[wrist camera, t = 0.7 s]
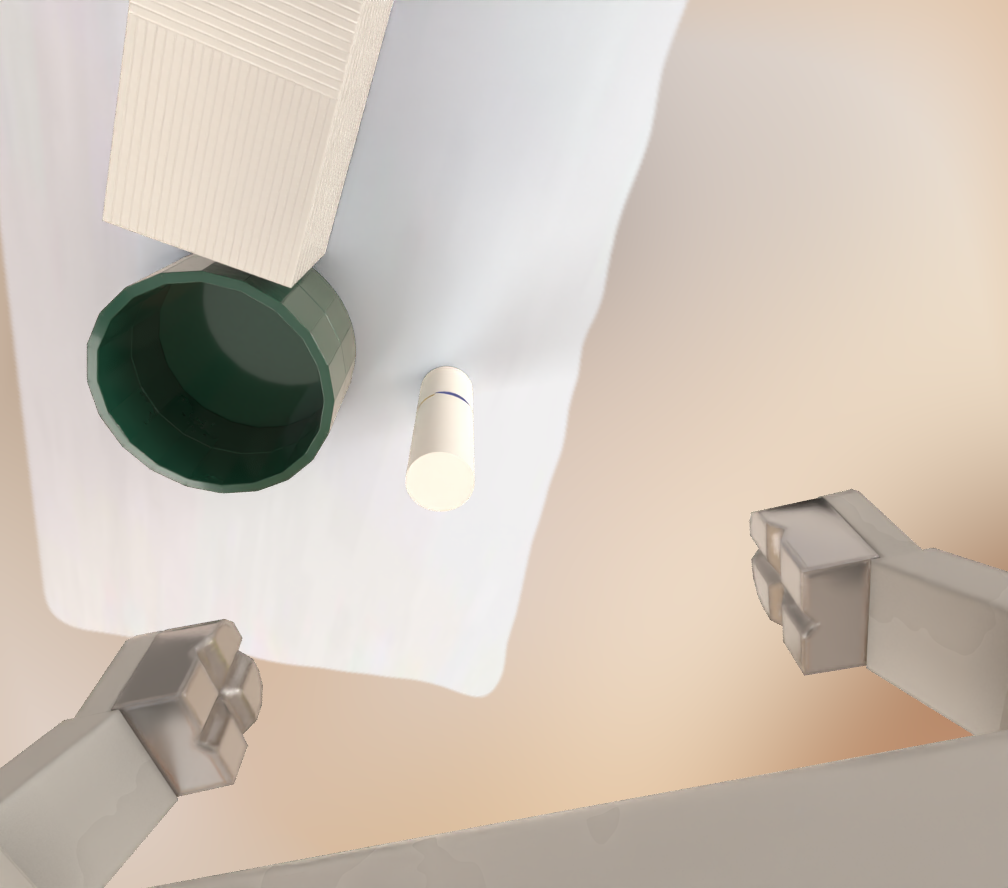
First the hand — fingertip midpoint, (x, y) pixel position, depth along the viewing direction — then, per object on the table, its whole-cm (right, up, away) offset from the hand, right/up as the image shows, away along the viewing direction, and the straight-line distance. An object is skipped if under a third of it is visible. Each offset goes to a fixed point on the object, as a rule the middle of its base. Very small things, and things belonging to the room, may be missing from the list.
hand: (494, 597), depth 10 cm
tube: (-5, +7, +44) cm, 45 cm away
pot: (-19, +10, +41) cm, 47 cm away
